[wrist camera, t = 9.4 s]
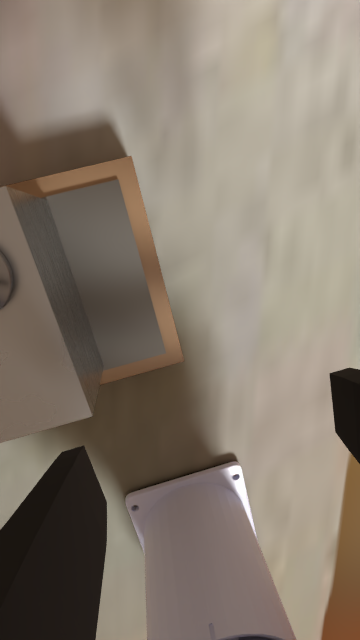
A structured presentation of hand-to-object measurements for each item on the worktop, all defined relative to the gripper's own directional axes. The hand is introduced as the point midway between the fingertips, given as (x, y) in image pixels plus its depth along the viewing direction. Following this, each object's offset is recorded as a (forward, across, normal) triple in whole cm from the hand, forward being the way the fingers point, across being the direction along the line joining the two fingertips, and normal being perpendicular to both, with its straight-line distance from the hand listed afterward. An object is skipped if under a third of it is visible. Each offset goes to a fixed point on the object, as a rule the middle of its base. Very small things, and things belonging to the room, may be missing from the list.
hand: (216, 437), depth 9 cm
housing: (+8, +6, -4) cm, 10 cm away
